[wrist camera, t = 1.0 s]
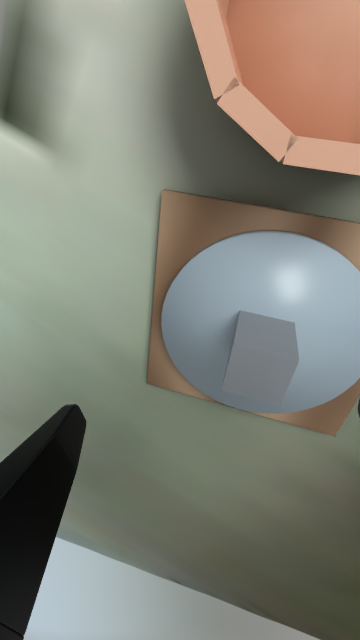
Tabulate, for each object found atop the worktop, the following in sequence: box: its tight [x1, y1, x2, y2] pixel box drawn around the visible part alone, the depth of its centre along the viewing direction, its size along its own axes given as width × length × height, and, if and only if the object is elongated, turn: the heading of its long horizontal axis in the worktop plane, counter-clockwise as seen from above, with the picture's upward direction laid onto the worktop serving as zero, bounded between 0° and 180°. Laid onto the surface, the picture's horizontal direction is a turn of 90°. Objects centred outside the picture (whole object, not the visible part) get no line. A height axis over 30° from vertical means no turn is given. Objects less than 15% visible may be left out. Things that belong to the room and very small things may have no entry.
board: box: [147, 189, 360, 436], centre depth 21 cm, size 16×16×1 cm
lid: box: [161, 230, 360, 414], centre depth 19 cm, size 14×14×5 cm
